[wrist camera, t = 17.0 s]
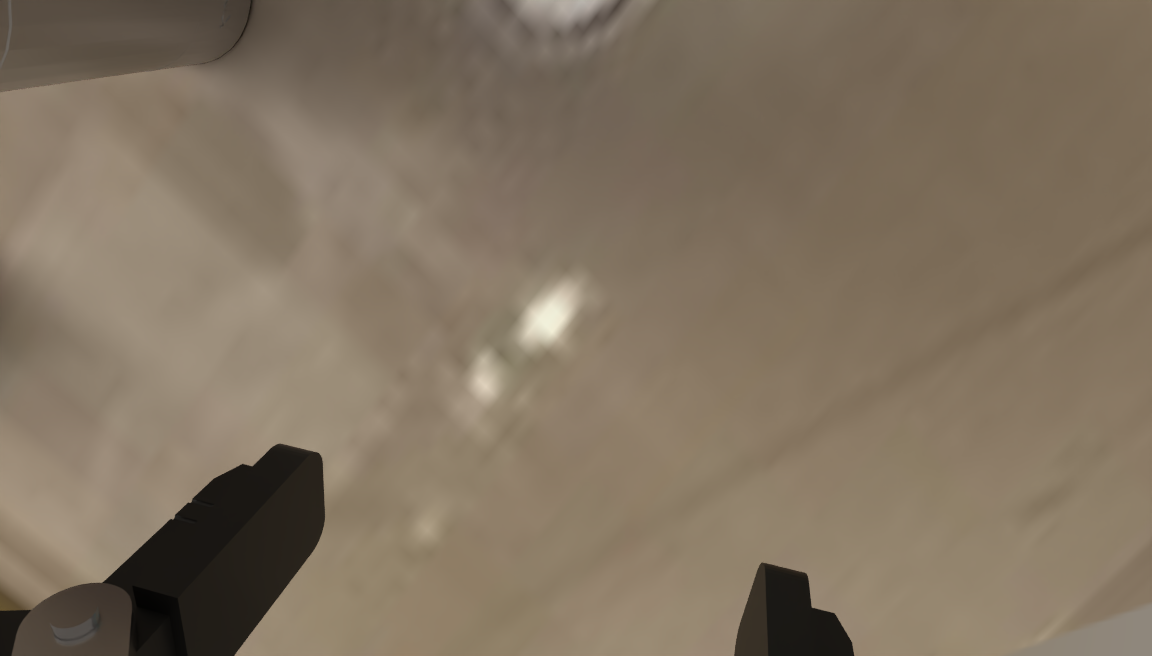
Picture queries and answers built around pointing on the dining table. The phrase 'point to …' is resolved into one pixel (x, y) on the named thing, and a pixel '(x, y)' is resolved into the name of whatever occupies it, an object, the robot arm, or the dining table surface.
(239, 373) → the dining table surface
